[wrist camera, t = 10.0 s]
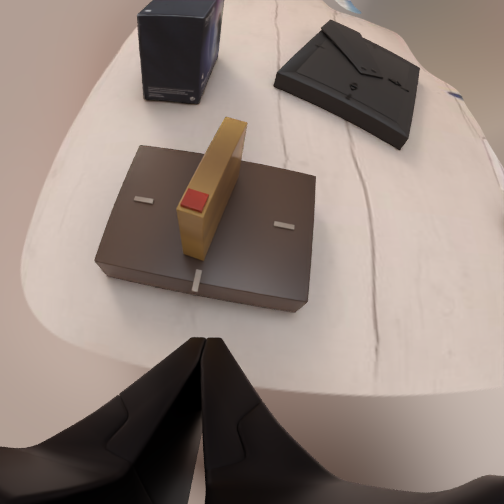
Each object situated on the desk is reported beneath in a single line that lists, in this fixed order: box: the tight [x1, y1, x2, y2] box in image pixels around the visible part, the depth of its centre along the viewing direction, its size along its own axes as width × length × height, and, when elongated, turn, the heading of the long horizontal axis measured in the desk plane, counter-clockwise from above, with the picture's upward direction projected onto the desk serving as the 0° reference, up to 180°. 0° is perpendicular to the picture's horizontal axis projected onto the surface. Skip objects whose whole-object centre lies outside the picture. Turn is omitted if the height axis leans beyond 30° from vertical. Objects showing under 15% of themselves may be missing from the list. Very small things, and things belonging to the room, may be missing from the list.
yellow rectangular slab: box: [176, 117, 247, 261], centre depth 19 cm, size 7×1×6 cm, turn 163°
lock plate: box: [95, 145, 316, 312], centre depth 23 cm, size 14×11×3 cm
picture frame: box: [274, 20, 420, 150], centre depth 34 cm, size 16×3×21 cm
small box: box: [137, 0, 224, 104], centre depth 27 cm, size 11×6×10 cm, turn 174°
